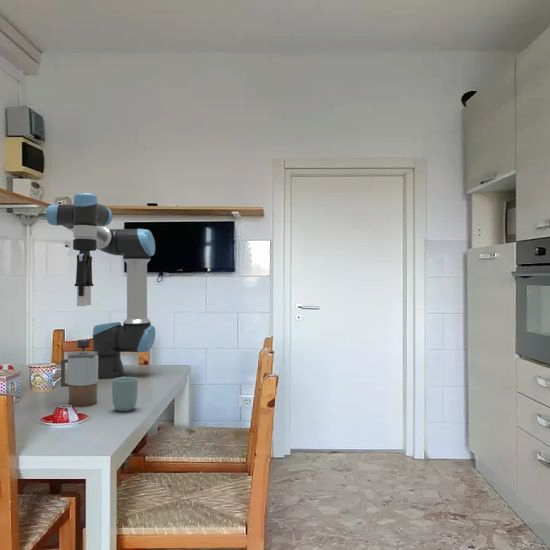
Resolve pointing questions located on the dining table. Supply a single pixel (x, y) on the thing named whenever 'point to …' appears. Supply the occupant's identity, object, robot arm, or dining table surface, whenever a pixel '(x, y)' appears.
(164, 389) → the dining table surface
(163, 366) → the dining table surface
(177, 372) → the dining table surface
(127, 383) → the cup
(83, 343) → the plunger
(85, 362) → the carafe
